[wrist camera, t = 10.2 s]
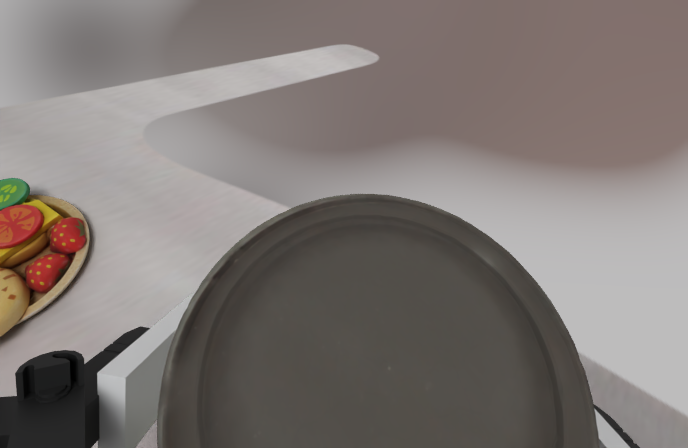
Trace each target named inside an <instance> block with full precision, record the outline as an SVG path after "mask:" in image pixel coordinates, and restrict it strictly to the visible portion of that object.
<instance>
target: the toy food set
mask: <svg viewBox="0 0 688 448" xmlns="http://www.w3.org/2000/svg"><path fill="white" fill-rule="evenodd" d="M29 193H30V187H29V185H28V184H27V183H26V182H25V181H23V180H21V179H17V178H9V179H3V180H0V337H1V336H2V335H4V334H5V333H6V332H7V331H8V330H10V329H11V328H12V327H13V326H14V325H17V324H19V323H21V322H23V321H24V320H26V319H28V318H30V317H31V316H33V315H35V314H36V313H38V312H39V311H41V310H42V309H43V308H45V307H46V306H47V305H49V304H50V303H51V302H52V301H53V300H55V299H56V298H57V297H58V296H59V295H60V294H61V293H62V292H63V291H64V290H65V289H66V288H67V287H68V286H69V284H70V283H71V282H72V281H73V279H74V278H75V276H76V275H77V274H78V272H79V270H80V269H81V267H82V265H83V263H84V260H85V258H86V256H87V252H88V248H89V241H90V234H89V228H88V224H87V222H86V220H85V218H84V216H83V215H82V213H81V212H80V211H79V210H78V209H77V208H76V207H74V206H73V205H72V204H70V203H68V202H66V201H64V200H61V199H58V198H54V197H49V196H42V195H29Z"/></svg>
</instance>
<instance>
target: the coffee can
mask: <svg viewBox="0 0 688 448" xmlns="http://www.w3.org/2000/svg"><path fill="white" fill-rule="evenodd" d="M157 443H158V448H599V435H598V428H597V422H596V414H595V409H594V405H593V400H592V396H591V392H590V389H589V385H588V381H587V377H586V373H585V370H584V368H583V366H582V364H581V361H580V359H579V355H578V352H577V349H576V347H575V344H574V342H573V340H572V338H571V336H570V334H569V332H568V330H567V328H566V326H565V325H564V323H563V321H562V319H561V317H560V315H559V314H558V312H557V311H556V309H555V307H554V306H553V304H552V302H551V301H550V299H549V298H548V297H547V295H546V294H545V292H544V291H543V290H542V288H541V287H540V286H539V285H538V283H537V282H536V281H535V280H534V279H533V278H532V276H531V275H530V274H529V273H528V272H527V271H526V270H525V269H524V268H523V266H522V265H521V264H520V263H519V262H518V261H517V260H516V259H515V258H514V257H513V256H512V255H511V254H510V253H509V252H508V251H507V250H505V249H504V248H503V247H502V246H500V245H499V244H498V243H497V242H495V241H494V240H493V239H492V238H490V237H489V236H488V235H486V234H485V233H483V232H482V231H480V230H478V229H477V228H476V227H474V226H473V225H471V224H469V223H468V222H465V221H464V220H462V219H461V218H459V217H457V216H455V215H453V214H451V213H448V212H446V211H444V210H442V209H439V208H436V207H434V206H431V205H428V204H425V203H422V202H419V201H414V200H410V199H406V198H401V197H396V196H389V195H377V194H350V195H340V196H333V197H328V198H323V199H319V200H315V201H312V202H308V203H305V204H302V205H299V206H296V207H294V208H291V209H289V210H287V211H285V212H283V213H281V214H278V215H277V216H275V217H273V218H271V219H270V220H268V221H266V222H264V223H263V224H261V225H260V226H258V227H257V228H255V229H254V230H252V231H251V232H250V233H248V234H247V235H246V236H245V237H244V238H242V239H241V240H240V241H239V242H237V243H236V244H235V245H234V246H233V247H232V248H231V249H230V250H229V251H228V252H227V253H226V254H225V255H224V256H223V257H222V258H221V259H220V260H219V261H218V262H217V264H216V265H215V266H214V267H213V269H212V270H211V271H210V272H209V274H208V275H207V276H206V277H205V279H204V280H203V281H202V283H201V285H200V286H199V288H198V290H197V291H196V293H195V294H194V295H193V297H192V299H191V300H190V302H189V304H188V307H187V309H186V310H185V312H184V314H183V316H182V318H181V320H180V322H179V325H178V327H177V330H176V332H175V335H174V337H173V339H172V342H171V345H170V348H169V352H168V355H167V359H166V363H165V367H164V371H163V376H162V383H161V389H160V396H159V404H158V416H157Z"/></svg>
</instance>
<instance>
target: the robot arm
mask: <svg viewBox="0 0 688 448" xmlns="http://www.w3.org/2000/svg"><path fill="white" fill-rule="evenodd" d="M197 290H198V289H197ZM197 290H196V291H197ZM196 291H194V292H193V293H192V294H191V295H190V296H188V297H187V298H186V299H185V300H184V301H182V302H181V303H180V304H179V305H178V306H176V307H175V308H174V309H173V310H172V311H170V312H169V313H168V314H167V315H166V316H164V317H163V318H162V319H161V320H160V321H159V322H157V323H156V324H155V325H154V326H153V327H151V328H146V327H138V328H136V329H134V330H131V331H129V332H127V333H125V334H123V335H122V336H121V337H119V338H118V339H117V340H116V341H114V342H113V344H110V345H109V346H108V347H106V348H105V349H104V351H101V352H100V353H99V354H97V355H96V356H95V357H93V358H92V359H91V360H90V361H88V362H87V363H86V364H84V358H83V356H82V354H80V353H78V352H76V351H68V350H63V351H53V352H50V353H46V354H42V355H39V356H37V357H35V358H33V359H30V360H28V361H27V362H26V363H24V364H23V365H22V366H20V367H19V369H18V370H17V372H16V373H15V375H16V388H17V396H12V397H0V448H91V447H92V446H93V445H94V444H95V443H96V442H97V441H98V448H135V447H136V446H137V445H138V443H139V442H140V441H141V439H142V438H143V437H144V435H145V434H146V433H147V431H148V430H149V429H150V427H151V426H152V425H153V424H154V422H155V421H156V420H157V416H158V404H159V396H160V389H161V383H162V376H163V371H164V367H165V363H166V359H167V355H168V352H169V348H170V345H171V342H172V339H173V337H174V335H175V332H176V330H177V327H178V325H179V322H180V320H181V318H182V316H183V314H184V312H185V310H186V309H187V307H188V304H189V302H190V300H191V299H192V297H193V295H194V294H195V293H196ZM593 405H594V404H593ZM594 409H595V414H596V422H597V428H598V435H599V448H640V447H639V446H638V445H637V444H635V443H633V440H632V439H631V438H630V437H629V436H628V435H627V434H626V433H625V432H623V429H622V428H621V427H620V426H619V425H618V424H617V423H616V422H615V421H614V420H613V419H612V418H611V417H610V416H609V415H608V414H606V413H605V412H604V411H602V410H601V409H600V408H598V407H597V406H596V405H594Z"/></svg>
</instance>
